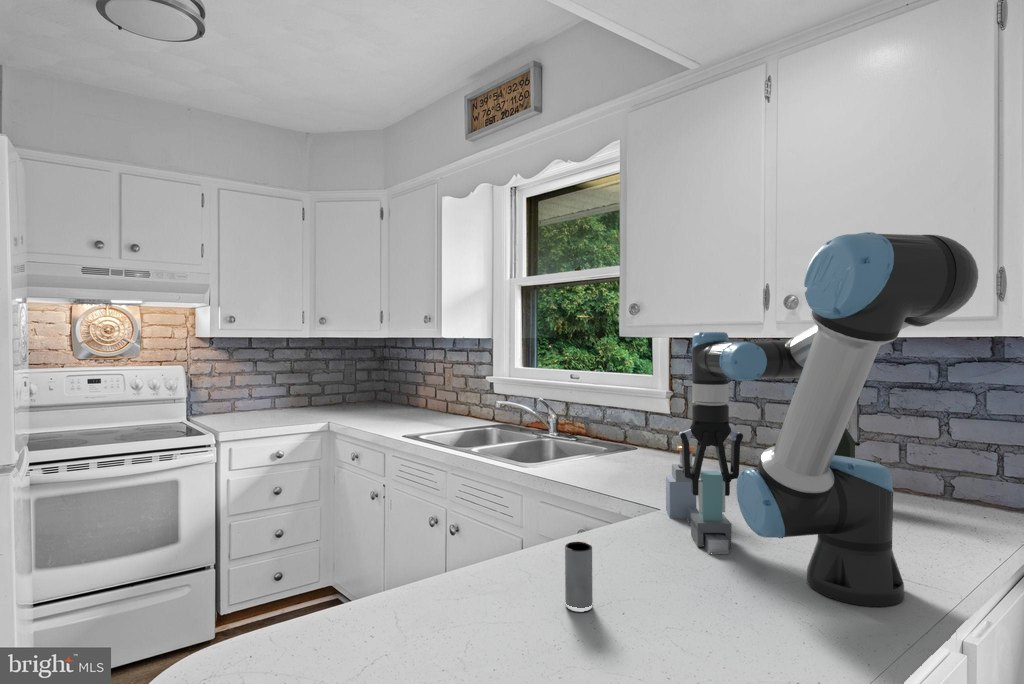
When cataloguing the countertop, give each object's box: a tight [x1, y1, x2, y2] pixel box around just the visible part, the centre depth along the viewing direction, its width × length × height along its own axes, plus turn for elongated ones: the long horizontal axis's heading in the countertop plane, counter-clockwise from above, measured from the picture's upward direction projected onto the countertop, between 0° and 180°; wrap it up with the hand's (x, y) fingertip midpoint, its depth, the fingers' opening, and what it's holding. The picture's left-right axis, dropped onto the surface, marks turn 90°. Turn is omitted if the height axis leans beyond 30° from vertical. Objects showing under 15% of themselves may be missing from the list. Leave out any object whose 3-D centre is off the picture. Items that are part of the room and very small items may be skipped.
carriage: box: [690, 469, 732, 548], centre depth 133 cm, size 7×7×15 cm
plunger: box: [676, 444, 696, 469], centre depth 152 cm, size 4×4×8 cm
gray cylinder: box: [564, 541, 594, 608], centre depth 102 cm, size 4×4×10 cm
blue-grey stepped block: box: [665, 463, 696, 519], centre depth 153 cm, size 6×9×12 cm, turn 85°
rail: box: [686, 507, 730, 555], centre depth 137 cm, size 23×4×3 cm, turn 175°
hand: (710, 509), depth 133 cm, fingers closed on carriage, 4 cm apart
